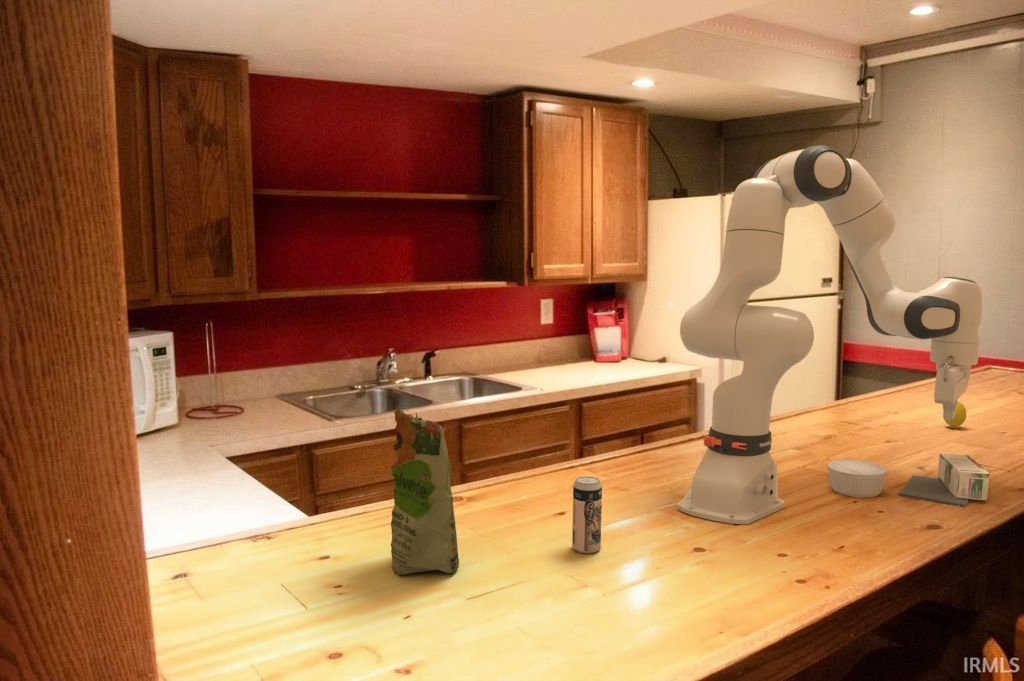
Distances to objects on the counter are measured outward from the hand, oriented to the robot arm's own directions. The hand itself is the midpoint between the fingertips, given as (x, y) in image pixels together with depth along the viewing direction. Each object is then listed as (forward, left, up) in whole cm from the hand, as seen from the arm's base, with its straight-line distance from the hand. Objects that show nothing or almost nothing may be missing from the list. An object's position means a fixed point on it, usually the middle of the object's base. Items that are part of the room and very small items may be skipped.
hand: (948, 418), depth 170 cm
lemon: (+59, +5, -14) cm, 61 cm away
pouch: (-100, +60, -14) cm, 117 cm away
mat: (-7, 0, -14) cm, 16 cm away
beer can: (-78, +43, -14) cm, 90 cm away
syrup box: (+3, -1, -11) cm, 11 cm away
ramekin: (-17, +14, -15) cm, 26 cm away
